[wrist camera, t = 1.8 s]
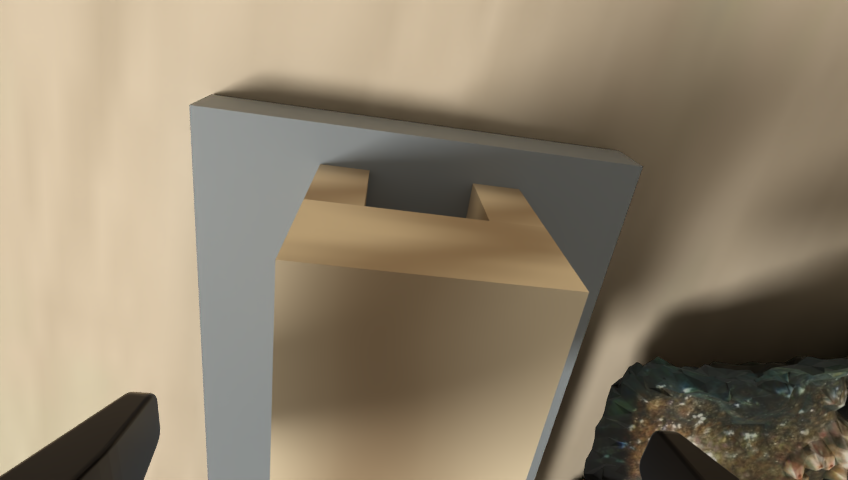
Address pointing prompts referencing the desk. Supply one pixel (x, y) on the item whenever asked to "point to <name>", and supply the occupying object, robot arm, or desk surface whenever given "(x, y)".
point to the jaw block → (416, 337)
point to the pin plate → (387, 188)
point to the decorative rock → (731, 418)
